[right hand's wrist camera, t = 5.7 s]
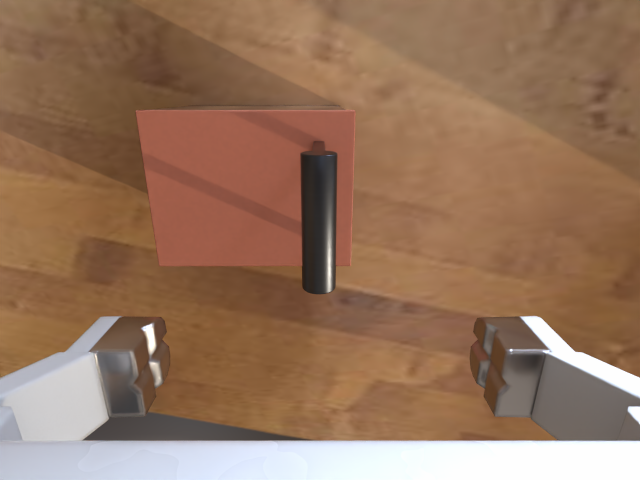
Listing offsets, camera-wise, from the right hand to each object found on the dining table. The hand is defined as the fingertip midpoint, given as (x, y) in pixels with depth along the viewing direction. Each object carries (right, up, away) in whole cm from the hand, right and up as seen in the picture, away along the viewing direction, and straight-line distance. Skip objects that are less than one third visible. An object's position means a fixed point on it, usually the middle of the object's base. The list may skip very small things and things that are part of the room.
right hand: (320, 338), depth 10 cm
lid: (-4, +6, +16) cm, 17 cm away
